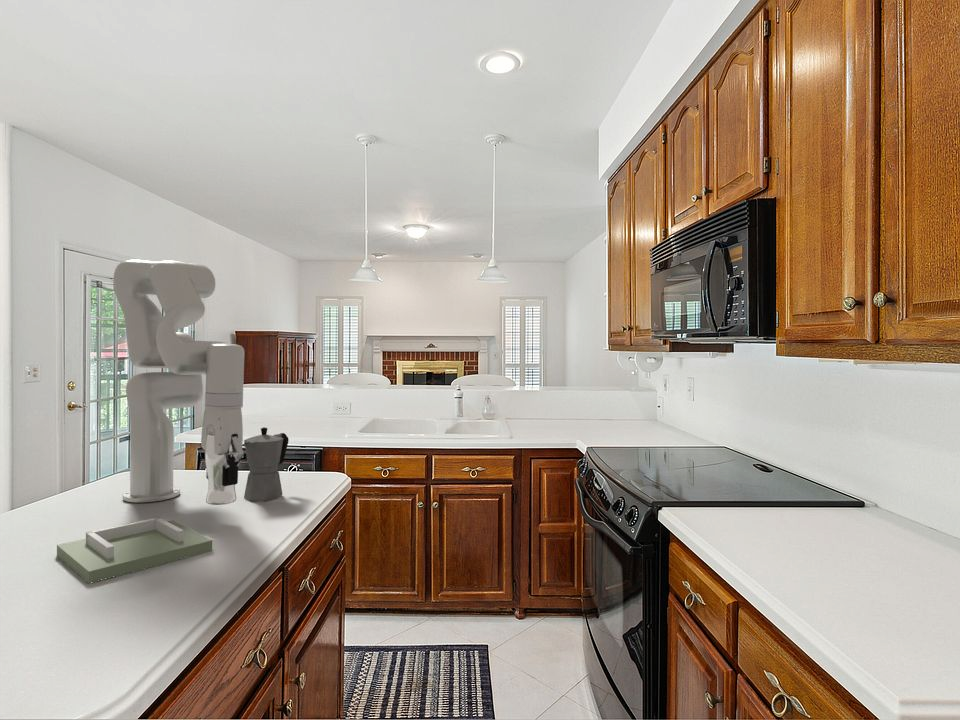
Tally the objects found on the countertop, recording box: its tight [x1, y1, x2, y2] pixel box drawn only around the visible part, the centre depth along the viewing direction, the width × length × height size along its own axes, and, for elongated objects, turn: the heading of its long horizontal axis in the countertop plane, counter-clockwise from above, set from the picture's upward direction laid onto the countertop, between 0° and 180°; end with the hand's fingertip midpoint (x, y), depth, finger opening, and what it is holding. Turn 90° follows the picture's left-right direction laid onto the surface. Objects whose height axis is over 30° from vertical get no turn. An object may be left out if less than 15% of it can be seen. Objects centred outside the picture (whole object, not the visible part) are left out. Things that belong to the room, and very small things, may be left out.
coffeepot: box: [242, 427, 290, 503], centre depth 145 cm, size 15×9×18 cm, turn 159°
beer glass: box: [204, 434, 237, 506], centre depth 122 cm, size 7×7×15 cm
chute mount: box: [56, 516, 213, 584], centre depth 104 cm, size 18×20×4 cm
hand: (221, 480), depth 123 cm, fingers closed on beer glass, 6 cm apart
